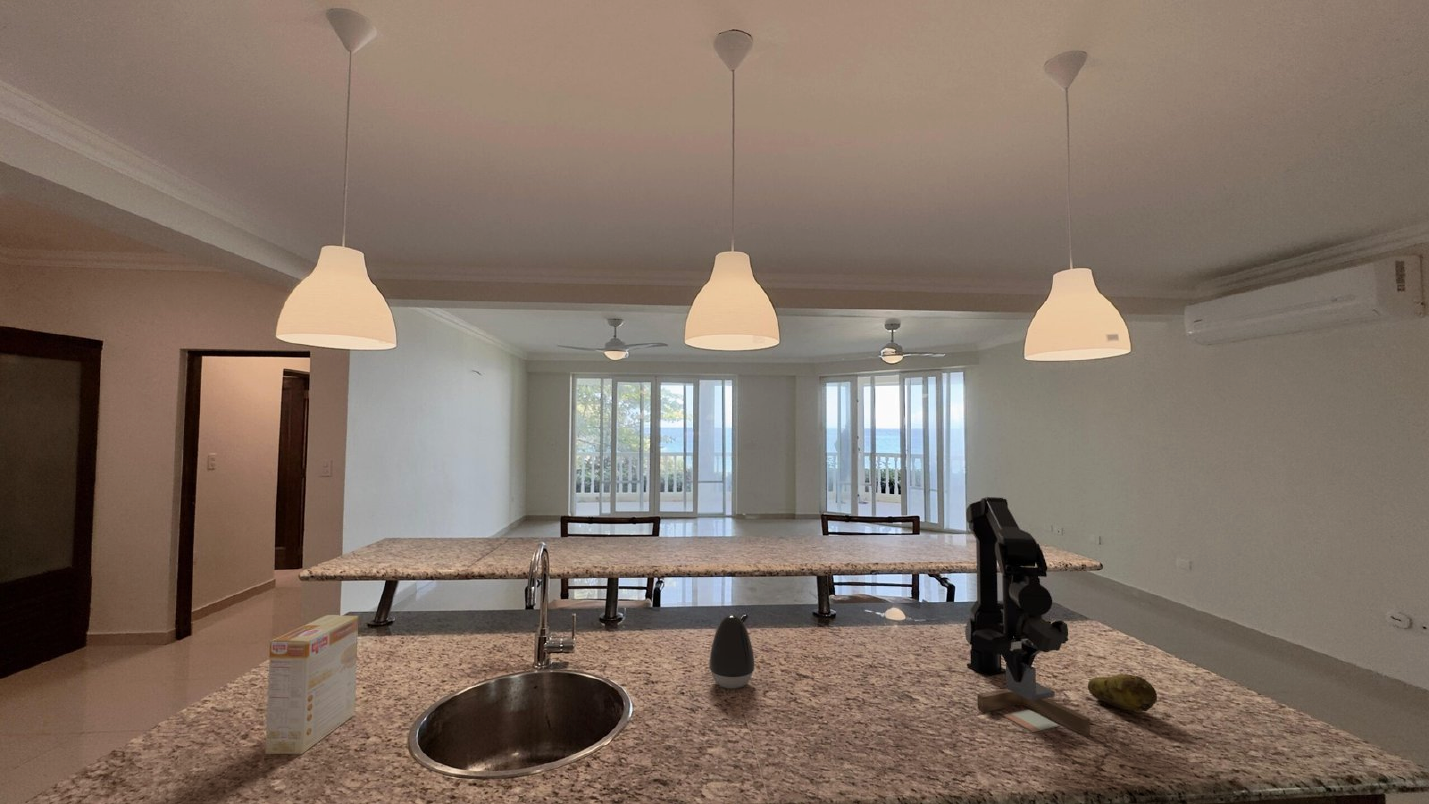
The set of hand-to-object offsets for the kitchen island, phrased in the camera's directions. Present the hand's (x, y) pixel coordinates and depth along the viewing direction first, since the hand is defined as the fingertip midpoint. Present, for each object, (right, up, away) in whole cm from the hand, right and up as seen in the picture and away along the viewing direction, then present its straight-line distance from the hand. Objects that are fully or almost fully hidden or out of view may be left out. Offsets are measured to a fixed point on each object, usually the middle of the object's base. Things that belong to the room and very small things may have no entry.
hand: (1020, 681), depth 117 cm
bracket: (+2, -3, +1) cm, 3 cm away
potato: (+24, -9, +5) cm, 26 cm away
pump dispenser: (-56, -9, +17) cm, 59 cm away
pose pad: (+2, -8, 0) cm, 8 cm away
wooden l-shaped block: (+2, -8, 0) cm, 8 cm away
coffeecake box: (-135, -7, -6) cm, 136 cm away
